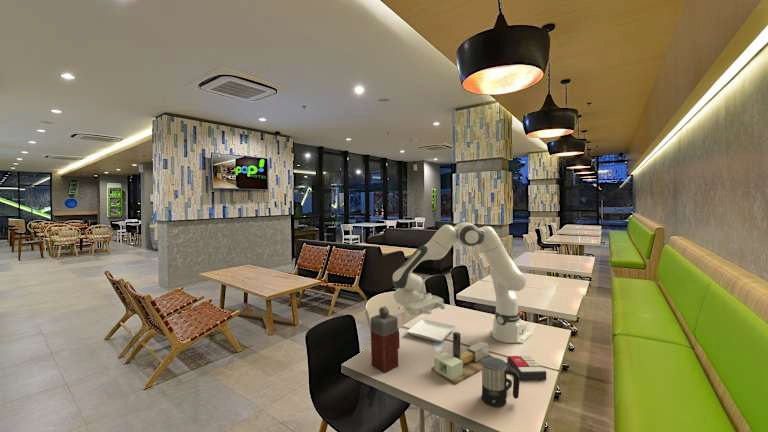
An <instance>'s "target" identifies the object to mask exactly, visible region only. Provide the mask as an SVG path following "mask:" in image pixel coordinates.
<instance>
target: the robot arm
mask: <svg viewBox="0 0 768 432" xmlns="http://www.w3.org/2000/svg"><path fill="white" fill-rule="evenodd" d="M458 242H461V243H462V244H463V245H465V246H467V247H468V246H469V247H472V246H476V245H478V246H479V247H480V249H481V252H482V254H483V255H484V258H485V260H486V261H487V263H488V264H489V266H490V269H489V274H490V278H491V280H492V284H493V289H494V293H495V310H494V311H495V312H494V318H493V323H492V329H491V330H490V332H491V333H492V337H493V338H494V339H495V340H496V341H499V342H502V343H507V344H513V343H514V344H524V343H525V342H526V341H527V340H528V339H529V338H530V337H531V336H532V331H529V330H528V324H527V323H526V322H525V321H523V320H522V319H521V317H520V316H522V315H523V312H522V311H520V310H518V309H519V299H518V295H517V294H516V292H520V291H522V290H524V289H525V287H526V286H527V278H526V277H527V276H525V275H524V274H523V273H522V272H521V270H520V269H519V268H518V266H517V265H516V264H515V263H516V262H515V261H513V259H512V258H511V257H510V255H509V253H508V252H507V250H506V247H505V246H504V244H503V241H502V240H501V238H500V237H499V235H498V233H497V232H496V231H495V229H494V228H493V227H491V226H490V225H484V226H481V227H477V226H476V225H475V224H473V223H472V222H469V221H467V220H462V221H460V222H457V223H455V224H453V225H451V224H444V225H442V226H441V227H440V228H438V230H437V231H436V232H435V233H434V235H433V236H432V237H431V238H430V239H429V241H427V242H426V244H423V245H421V246H420V247H418V248H416V250H415V251H414V252H413V253H412V254H411V255H409V257H408V258H407V259H406V261H405V262H404V263H402V264H401V266H400V267H398V268H397V269H396V270H394V272H393V273H392V277H391V280H392V284H393V286H394V288H398V289H395V291H394V293H393V299H394V301H395V302H396V303H397V304H398V305H400V306H402V307H403V310H404V311H407V312H408V313H409V314H411V315H412V316H419V315H422V314H424V315H431V314H432V311H433V310H436V309H439V308H440V310H444V309H446V305H445V304H444V299H443V298H442V297H440V296H437V295H434V294H433V295H432V293H430V292H428V293H427V292H426V293H425V292H424V293H422V290H423V288H424V280H423V278H422V277H421V276H420V275H418V274H415V273H414V272H413V271H414V270H415V269H416V267H417V266H418V265H420V263H422V262H423V261H429V260H431V261H437V260H441V259H443V258H444V257H445V256H446V255H447V254H448V253H449V251H450V250H451V248H452V247H453V245H454V244H456V243H458Z"/></svg>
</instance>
